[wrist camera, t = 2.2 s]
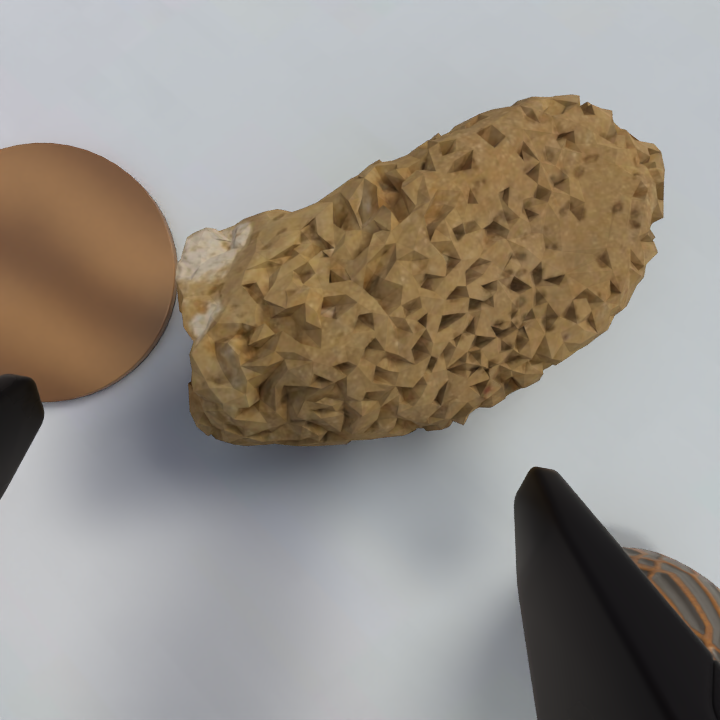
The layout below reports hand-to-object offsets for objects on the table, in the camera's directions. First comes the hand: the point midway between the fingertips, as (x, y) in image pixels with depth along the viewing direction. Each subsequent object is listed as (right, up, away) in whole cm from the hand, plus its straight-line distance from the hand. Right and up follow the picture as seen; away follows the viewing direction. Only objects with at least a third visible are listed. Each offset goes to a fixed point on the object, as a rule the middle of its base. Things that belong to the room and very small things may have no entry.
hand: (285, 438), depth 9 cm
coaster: (-13, +5, +14) cm, 20 cm away
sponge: (+4, +5, +15) cm, 16 cm away
